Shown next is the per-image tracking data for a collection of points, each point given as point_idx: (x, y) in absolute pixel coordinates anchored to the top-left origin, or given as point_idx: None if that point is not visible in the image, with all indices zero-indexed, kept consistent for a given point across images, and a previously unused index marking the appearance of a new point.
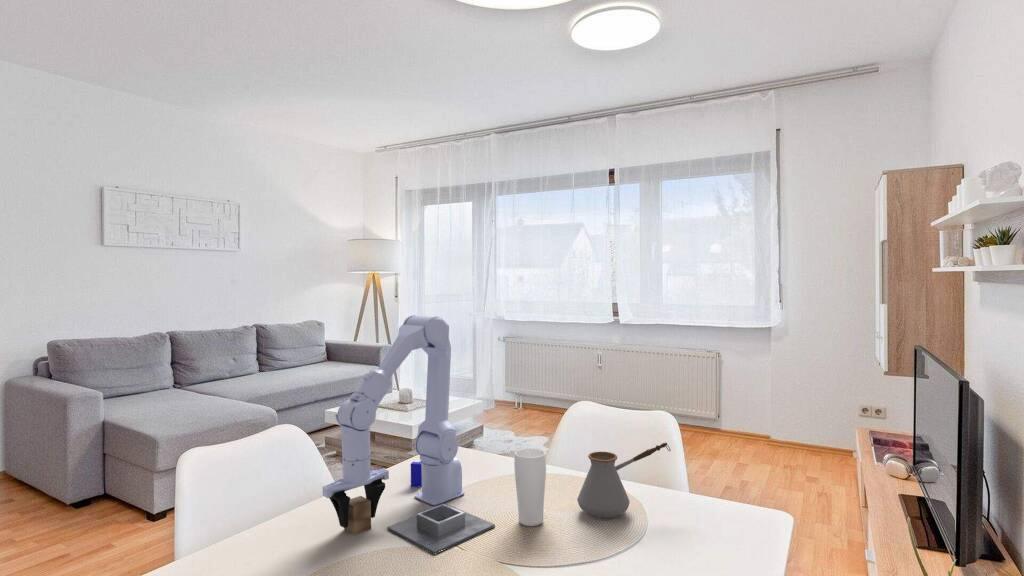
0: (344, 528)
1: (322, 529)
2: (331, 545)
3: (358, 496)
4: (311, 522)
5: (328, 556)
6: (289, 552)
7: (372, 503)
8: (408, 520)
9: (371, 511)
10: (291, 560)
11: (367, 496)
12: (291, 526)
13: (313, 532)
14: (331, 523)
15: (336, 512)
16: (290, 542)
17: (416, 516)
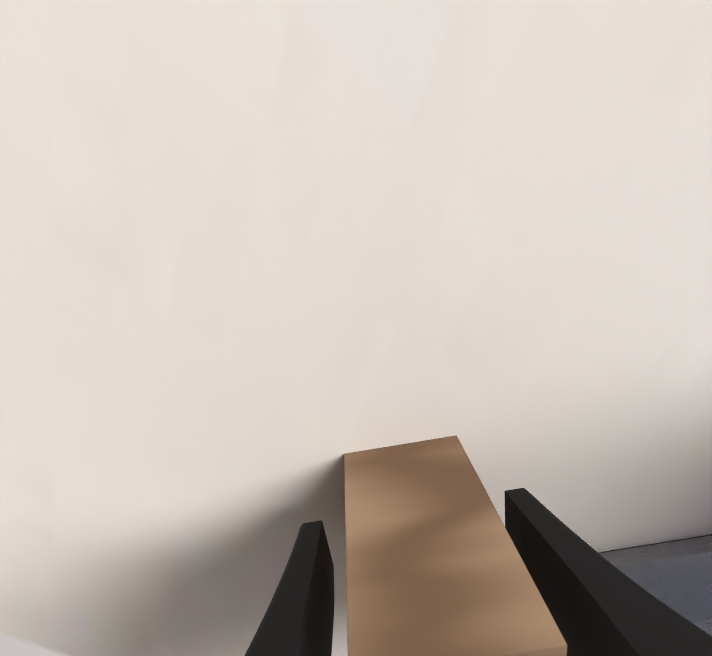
0: (344, 458)
1: (228, 383)
2: (230, 570)
3: (537, 651)
4: (176, 219)
5: (195, 638)
6: (17, 535)
7: (572, 650)
8: (638, 576)
9: (528, 570)
10: (31, 600)
11: (612, 648)
12: (12, 190)
13: (167, 391)
14: (304, 331)
15: (264, 616)
16: (17, 438)
17: (698, 560)
